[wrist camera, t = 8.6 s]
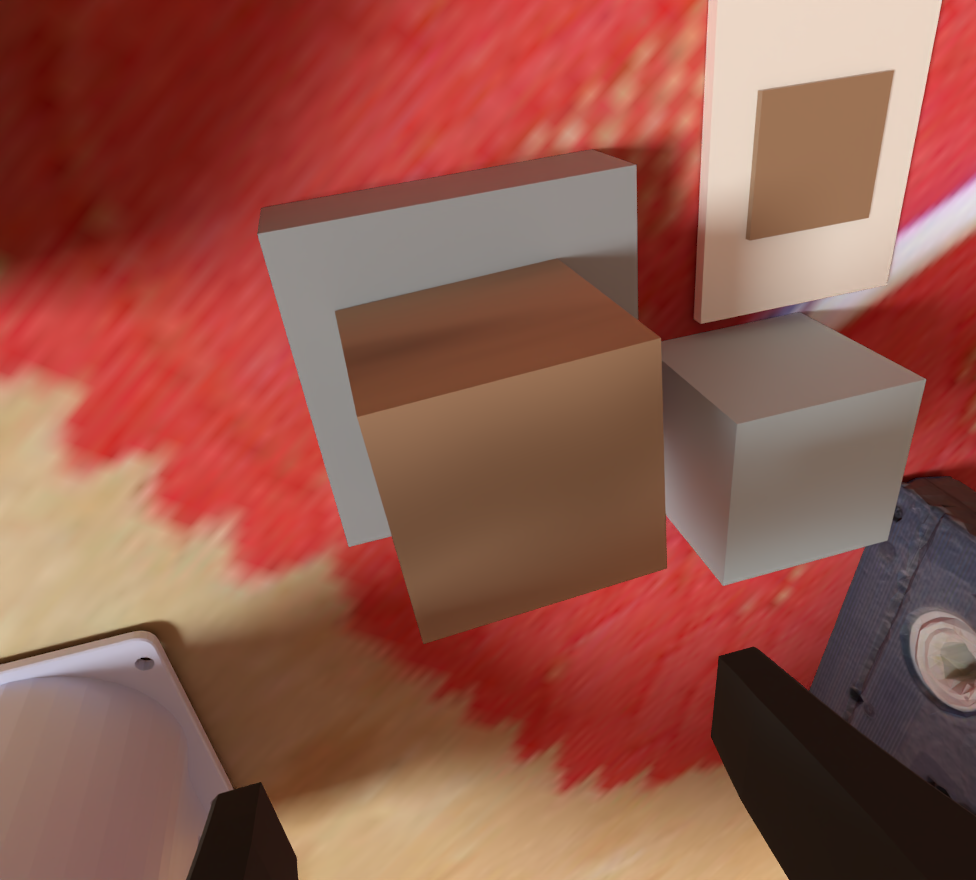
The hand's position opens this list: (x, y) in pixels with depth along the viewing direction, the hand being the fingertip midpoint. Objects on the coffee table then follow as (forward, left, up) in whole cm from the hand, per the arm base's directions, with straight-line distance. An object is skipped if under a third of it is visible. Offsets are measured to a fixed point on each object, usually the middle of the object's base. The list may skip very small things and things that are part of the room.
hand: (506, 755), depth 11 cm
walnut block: (+2, -1, -8) cm, 8 cm away
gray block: (-1, -10, -11) cm, 14 cm away
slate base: (+3, -2, -11) cm, 11 cm away
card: (+6, -12, -10) cm, 17 cm away
